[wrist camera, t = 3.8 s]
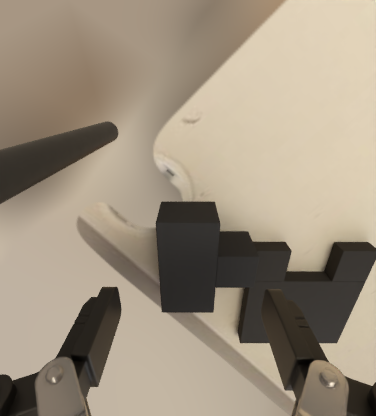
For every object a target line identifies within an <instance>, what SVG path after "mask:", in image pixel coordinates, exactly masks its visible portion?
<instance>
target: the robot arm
mask: <svg viewBox="0 0 376 416" xmlns="http://www.w3.org/2000/svg"><path fill="white" fill-rule="evenodd" d="M120 316H121V303H120V297H119V292H118V288H117V287H102V289H101V290H100V292H99V295H98V297H91V298H90V299H89V300H88V301H87V302H86V303H85V304H84V305H83V307H82V309H81V311H80V313H79V316H78V317H77V319H76V320H75V324H74V325H73V326H72V328H71V330H70V332H69V334H68V336H67V338H66V340H65V342H64V344H63V345H62V347H61V349H60V351H59V353H58V355H57V356H56V358H55V359H54V360H52V361H50V362H49V363H47V364H46V365H45V366H44V367H43V368H42V369H41V370H40V371H39V372H37V373H35V374H32V375H29V376H26V377H22V378H19V379H16V380H13V381H12V379H11V378H10V376H8V375H0V416H91V413H90V409H89V406H88V402H87V399H86V397H87V394H88V392H89V389H90V387H98V385H99V382H100V379H101V376H102V373H103V370H104V367H105V363H106V360H107V357H108V354H109V351H110V348H111V345H112V342H113V339H114V336H115V332H116V329H117V326H118V323H119V319H120ZM261 316H262V321H263V324H264V327H265V330H266V333H267V337H268V340H269V343H270V346H271V349H272V352H273V355H274V358H275V361H276V364H277V367H278V370H279V373H280V377H281V380H282V383H283V386H284V389H285V390H293V391H294V394H295V397H296V401H295V404H294V407H293V411H292V414H291V416H376V382H375V384H374V385H373V386H370V385H367V384H364V383H361V382H358V381H356V380H353V379H350V378H348V377H346V376H344V375H343V374H342V372H341V371H340V370H339V369H338V368H337V367H335V366H334V365H332V364H331V363H329V361H328V360H327V358H326V356H325V354H324V352H323V350H322V349H321V347H320V345H319V343H318V341H317V339H316V337H315V335H314V333H313V331H312V330H311V328H310V327H309V324H308V322H307V320H306V319H305V316H304V314H303V312H302V311H301V309H300V307H299V306H298V305H297V304H296V303H295V302H294V301H293V300H286V298H285V296H284V294H283V292H282V290H281V289H266V290H265V293H264V298H263V303H262V307H261Z"/></svg>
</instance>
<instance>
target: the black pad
mask: <svg viewBox="0 0 376 416" xmlns="http://www.w3.org/2000/svg"><path fill="white" fill-rule="evenodd" d="M253 244H254V246H255V249H256V251H257V253H258V255H259V261H258V267H257V272H256V278H255V284H254V287H253V288H245V289H244V295H243V302H242V308H241V315H240V321H239V328H238V335H239V340H240V343H269V340H268V337H267V333H266V330H265V327H264V324H263V321H262V316H261V307H262V303H263V298H264V293H265V290H266V289H281V290H282V292H283V294H284V296H285V298H286V300H293V301H294V302H295V303H296V304H297V305H298V306H299V307H300V309H301V311H302V312H303V314H304V316H305V319H306V320H307V322H308V324H309V327H310V328H311V330H312V331H313V333H314V335H315V337H316V339H317V341H318V343H337V342H338V340H339V338H340V335H341V333H342V331H343V329H344V327H345V325H346V322H347V320H348V318H349V316H350V314H351V312H352V309H353V307H354V305H355V303H356V301H357V299H358V297H359V294H360V292H361V290H362V288H363V286H364V284H365V281H366V279H367V277H368V275H369V273H370V271H371V268H372V266H373V264H374V262H375V260H376V248H375V247H374V246H372V245H371V244H370V243H368V242H335V243H334V246H333V249H332V252H331V254H330V257H329V260H328V263H327V266H326V269H325V272H286V271H287V267H288V263H289V259H290V255H291V249H290V248H289V247H288V245H287V244H286V242H253Z"/></svg>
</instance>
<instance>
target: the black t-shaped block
mask: <svg viewBox="0 0 376 416" xmlns="http://www.w3.org/2000/svg"><path fill="white" fill-rule="evenodd" d="M156 232H157V247H158V262H159V276H160V291H161V306H162V312H213V311H214V298H215V287H230V288H253V287H254V284H255V278H256V272H257V267H258V261H259V255H258V253H257V251H256V249H255V246H254V244H253V242H252V240H251V238H250V235H249V233H248V232H220V220H219V217H218V213H217V209H216V205H215V202H161V205H160V209H159V213H158V217H157V221H156Z"/></svg>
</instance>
